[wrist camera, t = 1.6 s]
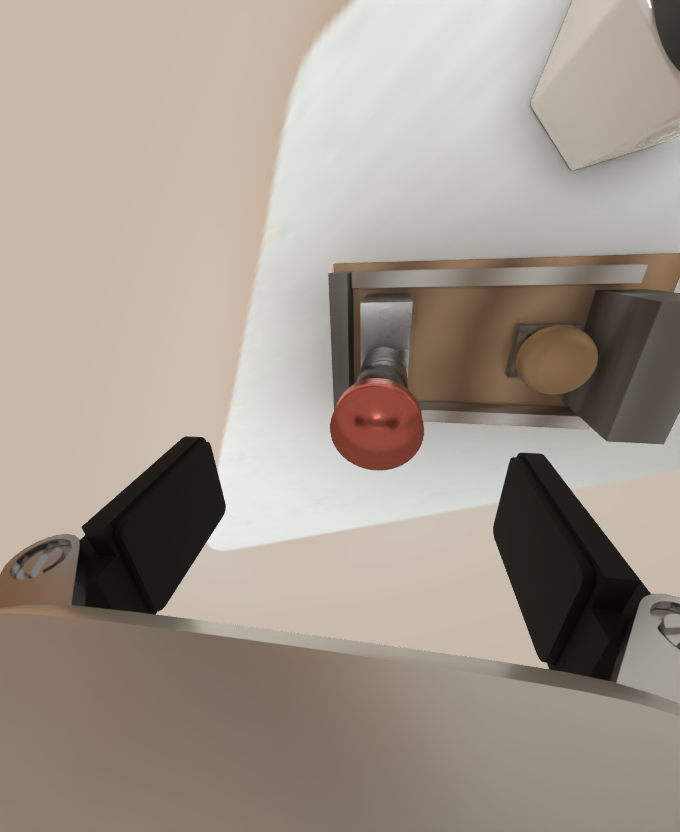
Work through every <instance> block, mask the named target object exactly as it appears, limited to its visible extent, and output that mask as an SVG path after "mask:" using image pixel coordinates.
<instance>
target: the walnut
mask: <svg viewBox="0 0 680 832" xmlns="http://www.w3.org/2000/svg"><path fill="white" fill-rule="evenodd" d="M597 362H598V351H597V347H596V345H595V343H594V341H593V340H592V339H591V337H590V336H589V335H588V334H586V333H585V332H583V331H582V330H580V329H578V328H575V327H571V326H563V325H559V326H551V327H547V328H544V329H541V330H539V331H537V332H535V333H534V334H532V335H531V336H530V337H529V338H527V339H526V341H525V342H524V343H523V344H522V346H521V347H520V349H519V351H518V354H517V358H516V369H517V372H518V375H519V377H520V378H521V380H522V381H523V382H524V383H525V384H526V385H527V386H528V387H529V388H531V389H533V390H535V391H537V392H540V393H544V394H562V393H567V392H570V391H572V390H574V389H576V388H578V387H580V386H581V385H583V384H584V383H585V382H586V381H587V380H588V379H589V378H590V377H591V376H592V374H593V373H594V371H595V369H596V366H597Z"/></svg>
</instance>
